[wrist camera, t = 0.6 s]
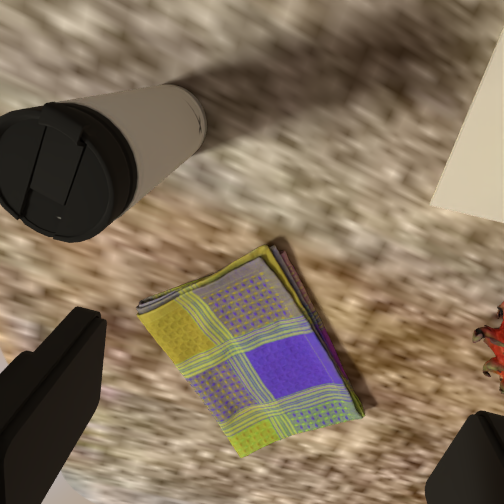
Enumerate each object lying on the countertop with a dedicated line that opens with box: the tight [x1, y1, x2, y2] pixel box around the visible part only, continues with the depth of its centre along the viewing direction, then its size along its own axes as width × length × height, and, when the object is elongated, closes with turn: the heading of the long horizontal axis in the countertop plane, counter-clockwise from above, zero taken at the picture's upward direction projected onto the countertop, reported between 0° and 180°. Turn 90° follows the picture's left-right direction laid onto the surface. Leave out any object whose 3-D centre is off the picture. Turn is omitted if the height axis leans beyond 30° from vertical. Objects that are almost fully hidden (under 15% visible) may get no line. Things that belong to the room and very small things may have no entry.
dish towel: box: [136, 245, 365, 458], centre depth 44 cm, size 18×24×3 cm
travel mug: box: [0, 84, 207, 243], centre depth 26 cm, size 6×7×20 cm
